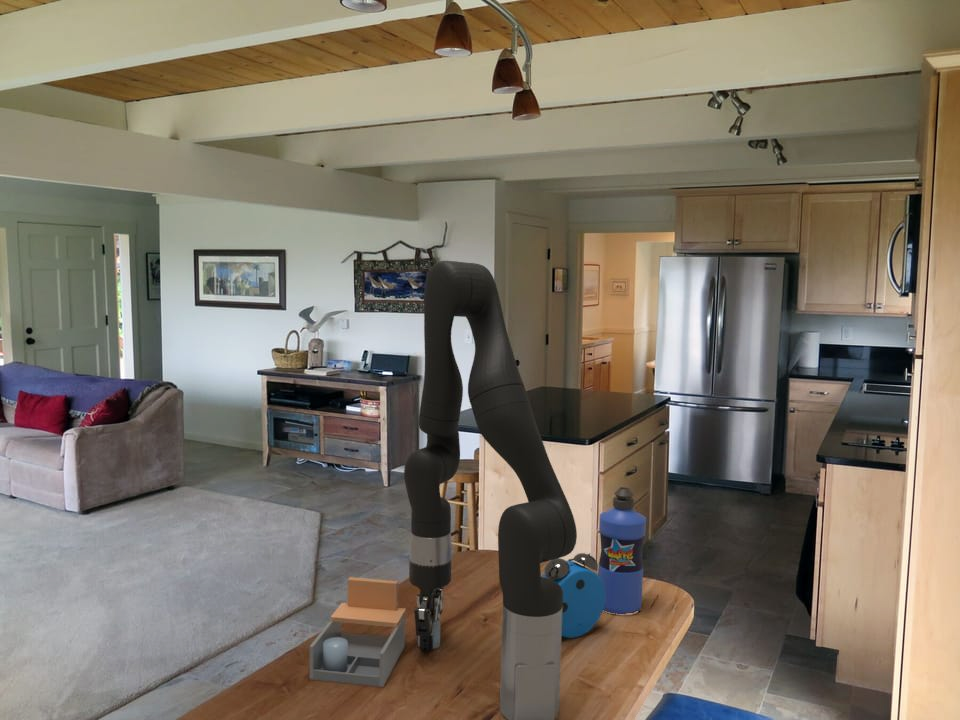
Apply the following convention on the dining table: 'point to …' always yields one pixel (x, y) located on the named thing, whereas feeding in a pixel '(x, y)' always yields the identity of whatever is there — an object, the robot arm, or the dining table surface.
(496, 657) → the dining table surface
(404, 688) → the dining table surface
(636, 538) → the water bottle
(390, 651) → the housing
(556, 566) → the alarm clock
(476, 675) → the dining table surface
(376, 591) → the lid
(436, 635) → the blue-grey rounded cylinder
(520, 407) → the robot arm
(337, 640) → the grey rounded cylinder
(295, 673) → the dining table surface
